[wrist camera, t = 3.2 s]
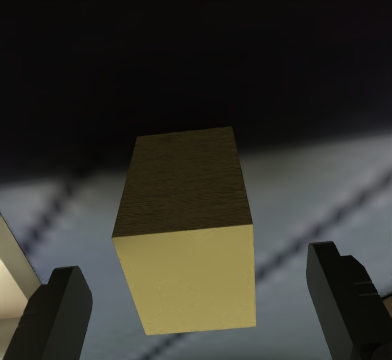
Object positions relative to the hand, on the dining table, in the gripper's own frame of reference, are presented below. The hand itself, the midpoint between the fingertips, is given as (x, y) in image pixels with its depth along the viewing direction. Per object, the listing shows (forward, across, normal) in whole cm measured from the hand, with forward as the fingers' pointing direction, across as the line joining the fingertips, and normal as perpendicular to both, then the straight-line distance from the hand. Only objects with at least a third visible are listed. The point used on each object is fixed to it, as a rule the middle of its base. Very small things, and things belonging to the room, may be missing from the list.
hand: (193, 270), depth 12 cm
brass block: (+5, 0, 0) cm, 5 cm away
